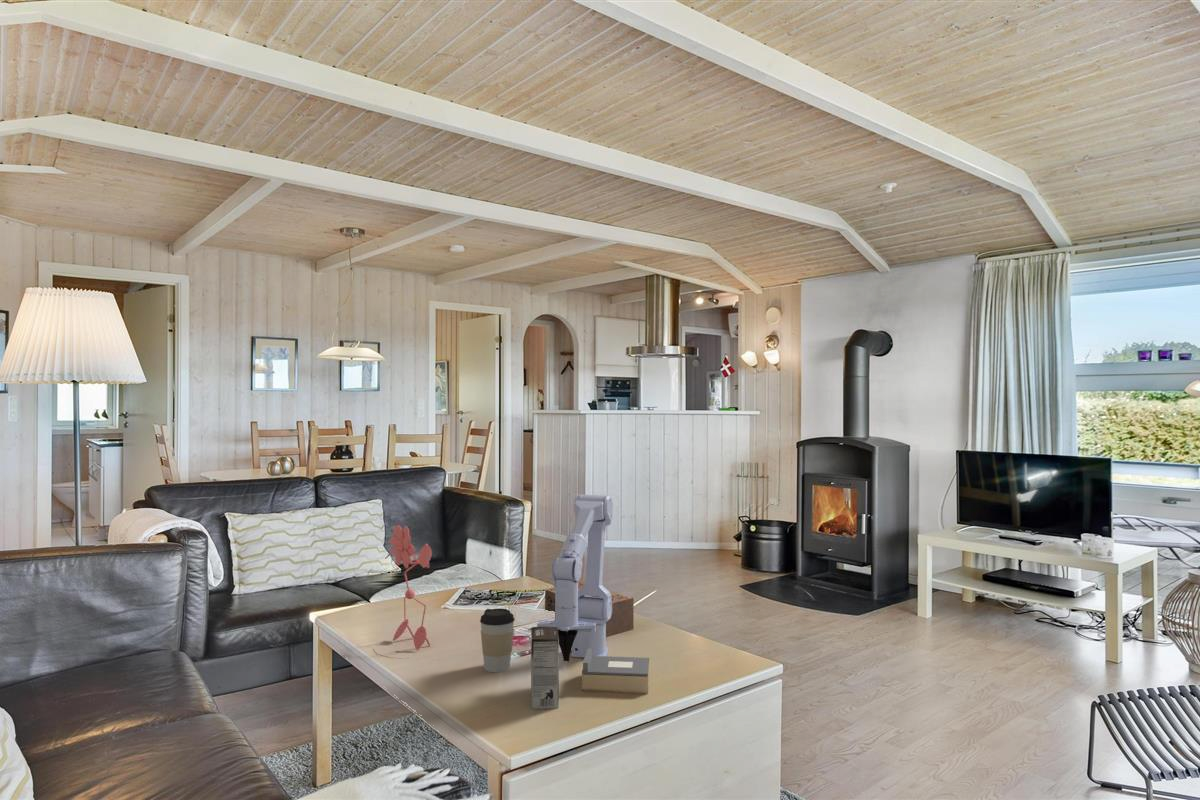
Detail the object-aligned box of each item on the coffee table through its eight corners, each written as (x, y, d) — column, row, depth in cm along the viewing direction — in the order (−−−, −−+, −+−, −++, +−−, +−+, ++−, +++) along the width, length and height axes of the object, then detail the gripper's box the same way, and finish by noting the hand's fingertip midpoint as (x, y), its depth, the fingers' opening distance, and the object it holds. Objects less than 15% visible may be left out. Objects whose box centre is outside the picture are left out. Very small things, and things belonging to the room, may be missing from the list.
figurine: (403, 630, 223) (401, 516, 223) (448, 652, 204) (445, 527, 204) (354, 643, 213) (352, 523, 212) (397, 667, 194) (395, 535, 193)
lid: (581, 673, 177) (581, 663, 177) (586, 657, 188) (586, 648, 188) (648, 675, 176) (648, 665, 176) (649, 659, 187) (649, 649, 187)
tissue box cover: (545, 620, 235) (545, 589, 235) (579, 612, 244) (579, 582, 244) (598, 640, 215) (598, 606, 215) (633, 630, 225) (633, 597, 225)
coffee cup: (520, 663, 196) (520, 607, 196) (505, 675, 187) (505, 617, 187) (489, 659, 199) (490, 604, 199) (473, 671, 190) (473, 613, 190)
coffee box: (531, 693, 176) (531, 626, 176) (558, 692, 176) (558, 625, 176) (530, 709, 167) (530, 638, 167) (559, 708, 167) (559, 637, 167)
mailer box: (581, 691, 177) (581, 674, 177) (586, 674, 188) (586, 658, 188) (648, 693, 176) (648, 676, 176) (649, 676, 187) (649, 660, 187)
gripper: (535, 609, 180) (535, 664, 180) (593, 610, 178) (593, 666, 178) (540, 601, 187) (540, 654, 187) (596, 603, 185) (596, 656, 185)
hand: (566, 660), depth 183 cm, fingers closed
